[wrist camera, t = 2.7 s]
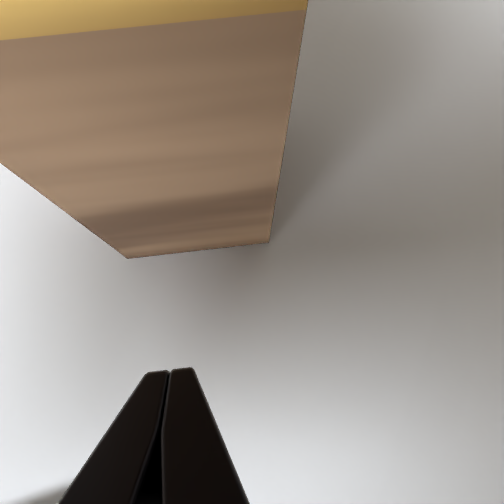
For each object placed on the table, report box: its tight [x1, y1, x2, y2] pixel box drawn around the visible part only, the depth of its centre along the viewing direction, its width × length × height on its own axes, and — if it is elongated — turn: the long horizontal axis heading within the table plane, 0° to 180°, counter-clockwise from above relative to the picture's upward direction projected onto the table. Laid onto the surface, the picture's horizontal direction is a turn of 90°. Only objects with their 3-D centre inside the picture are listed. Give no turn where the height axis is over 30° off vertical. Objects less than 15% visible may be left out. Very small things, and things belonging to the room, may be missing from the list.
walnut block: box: [0, 0, 308, 259], centre depth 11 cm, size 5×5×12 cm
